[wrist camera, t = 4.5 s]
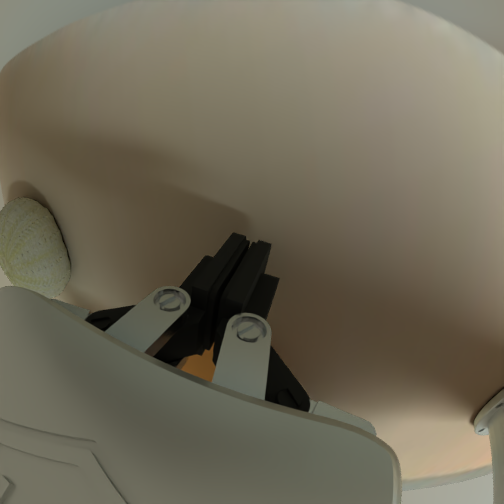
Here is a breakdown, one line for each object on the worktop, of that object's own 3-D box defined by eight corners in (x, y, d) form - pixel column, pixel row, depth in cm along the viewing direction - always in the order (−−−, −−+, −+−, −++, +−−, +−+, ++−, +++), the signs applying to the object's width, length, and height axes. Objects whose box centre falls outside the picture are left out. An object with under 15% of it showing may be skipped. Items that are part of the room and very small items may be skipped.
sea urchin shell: (-1, 178, 14) (-31, 239, 9) (76, 180, 19) (68, 241, 14) (8, 256, 19) (-2, 321, 14) (72, 257, 24) (74, 322, 19)
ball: (233, 429, 15) (257, 359, 18) (245, 438, 11) (277, 341, 14) (157, 401, 15) (185, 333, 19) (139, 398, 11) (180, 306, 14)
